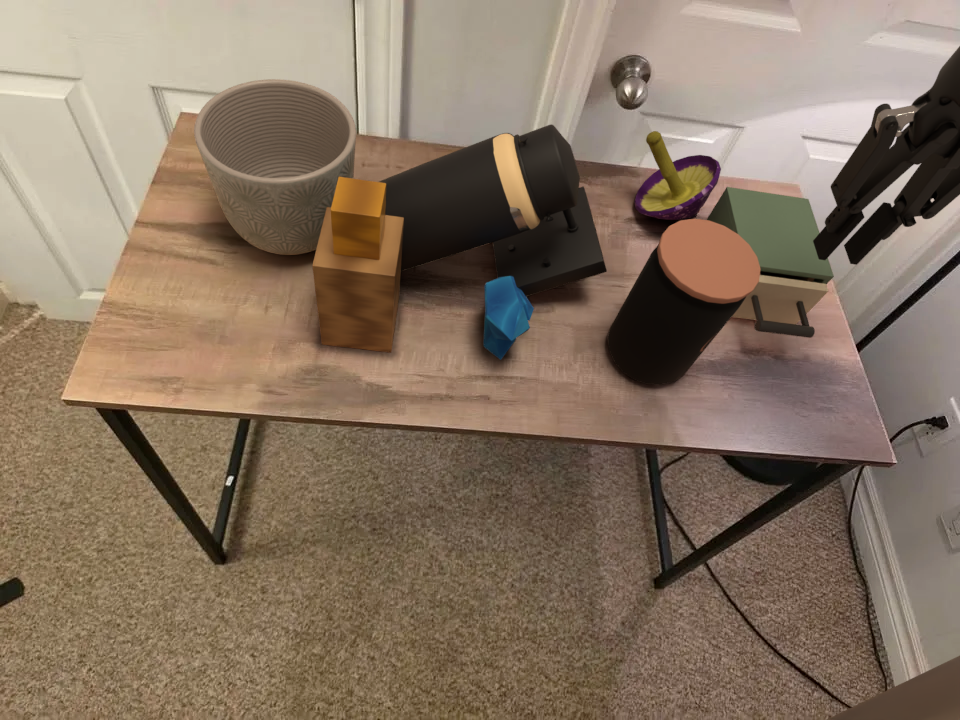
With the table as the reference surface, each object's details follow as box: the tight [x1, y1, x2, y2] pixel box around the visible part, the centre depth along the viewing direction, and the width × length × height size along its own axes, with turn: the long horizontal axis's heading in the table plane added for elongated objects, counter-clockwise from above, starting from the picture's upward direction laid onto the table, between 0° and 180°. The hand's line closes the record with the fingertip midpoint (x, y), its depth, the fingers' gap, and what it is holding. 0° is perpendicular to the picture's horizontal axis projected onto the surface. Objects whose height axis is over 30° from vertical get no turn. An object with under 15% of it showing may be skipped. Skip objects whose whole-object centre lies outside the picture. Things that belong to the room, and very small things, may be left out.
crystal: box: [482, 276, 535, 361], centre depth 73 cm, size 7×9×12 cm
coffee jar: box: [607, 218, 761, 386], centre depth 72 cm, size 11×11×18 cm
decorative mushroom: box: [633, 130, 722, 221], centre depth 89 cm, size 12×12×15 cm
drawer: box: [731, 271, 829, 339], centre depth 82 cm, size 18×10×7 cm, turn 177°
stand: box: [312, 207, 404, 353], centre depth 70 cm, size 8×8×14 cm
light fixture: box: [378, 124, 608, 297], centre depth 76 cm, size 13×18×26 cm
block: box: [330, 177, 386, 260], centre depth 61 cm, size 4×4×6 cm
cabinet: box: [706, 186, 835, 285], centre depth 85 cm, size 14×12×9 cm
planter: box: [193, 78, 357, 256], centre depth 75 cm, size 17×17×15 cm
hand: (834, 252), depth 69 cm, fingers open, 3 cm apart
